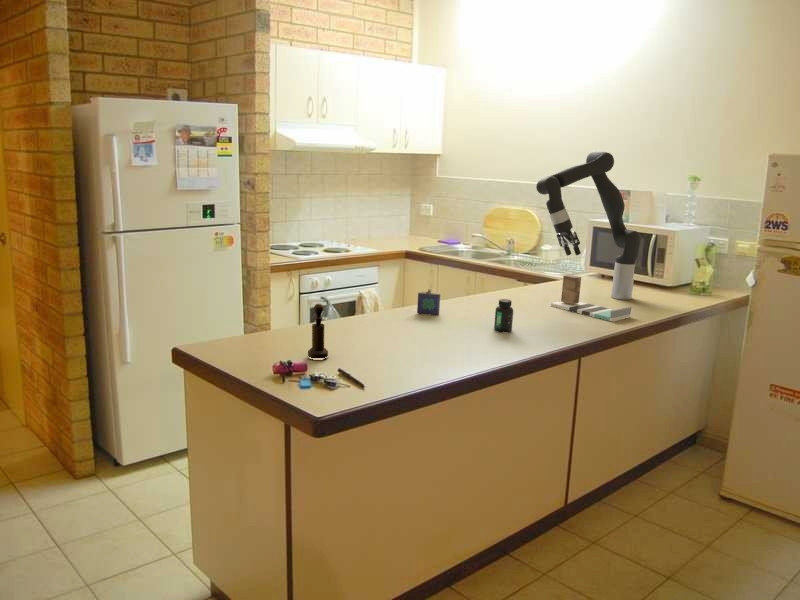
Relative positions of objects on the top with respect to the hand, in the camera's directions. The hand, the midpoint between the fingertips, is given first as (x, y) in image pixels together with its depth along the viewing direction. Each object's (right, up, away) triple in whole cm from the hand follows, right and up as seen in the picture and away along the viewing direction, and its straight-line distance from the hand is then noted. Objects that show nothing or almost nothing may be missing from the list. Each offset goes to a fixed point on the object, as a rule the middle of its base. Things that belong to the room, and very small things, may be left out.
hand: (573, 254), depth 304 cm
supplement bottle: (-37, -32, -37) cm, 61 cm away
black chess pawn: (-103, -39, -80) cm, 137 cm away
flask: (-65, -26, -17) cm, 72 cm away
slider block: (0, -21, +8) cm, 22 cm away
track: (+7, -25, +1) cm, 26 cm away
